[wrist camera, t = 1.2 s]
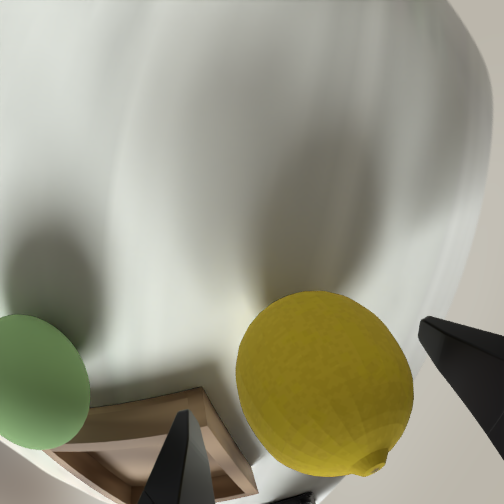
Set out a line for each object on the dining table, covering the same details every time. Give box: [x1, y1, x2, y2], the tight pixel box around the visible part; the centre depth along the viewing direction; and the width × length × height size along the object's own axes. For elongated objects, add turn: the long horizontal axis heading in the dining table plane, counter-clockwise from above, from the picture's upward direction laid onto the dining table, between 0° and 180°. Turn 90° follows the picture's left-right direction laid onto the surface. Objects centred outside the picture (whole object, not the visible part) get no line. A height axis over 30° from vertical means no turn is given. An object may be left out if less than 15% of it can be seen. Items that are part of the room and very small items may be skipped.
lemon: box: [236, 291, 414, 477], centre depth 9 cm, size 6×6×8 cm
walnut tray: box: [43, 387, 259, 504], centre depth 13 cm, size 11×11×2 cm
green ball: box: [0, 314, 90, 450], centre depth 8 cm, size 6×6×6 cm
